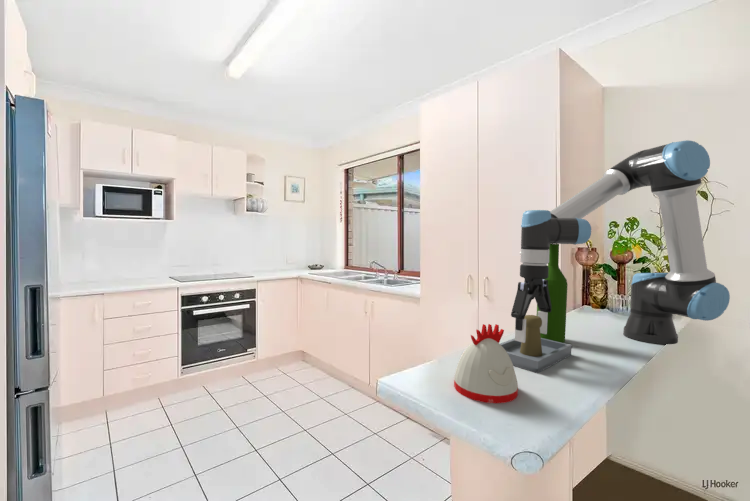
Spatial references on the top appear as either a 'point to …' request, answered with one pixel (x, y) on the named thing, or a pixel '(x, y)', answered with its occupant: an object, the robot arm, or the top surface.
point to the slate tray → (550, 356)
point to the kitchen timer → (486, 369)
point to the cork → (532, 337)
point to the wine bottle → (556, 298)
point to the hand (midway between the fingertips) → (531, 337)
